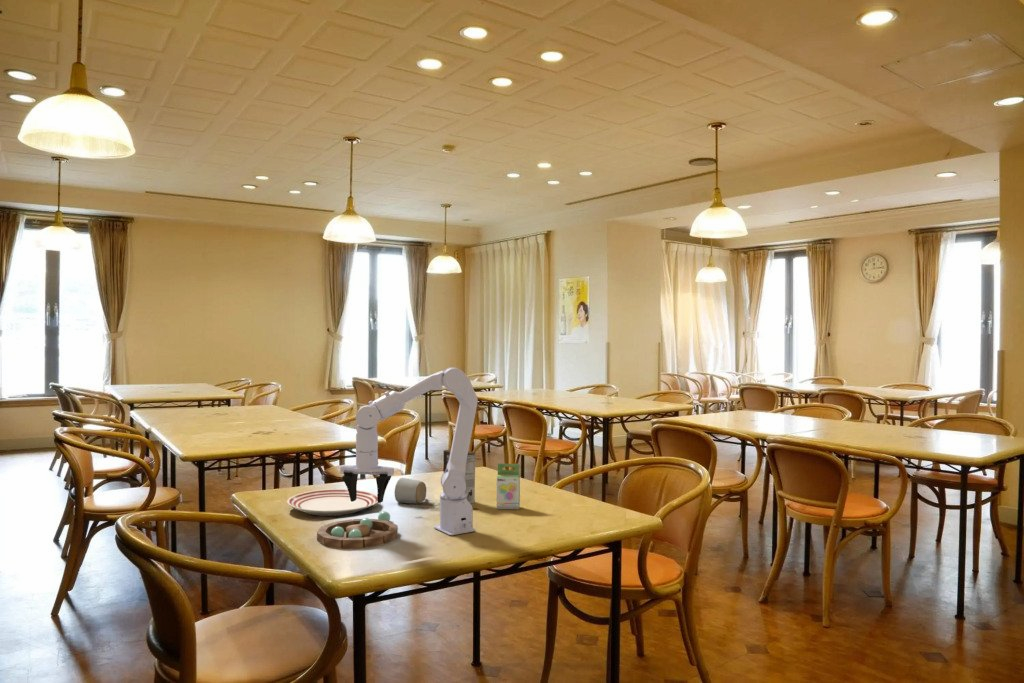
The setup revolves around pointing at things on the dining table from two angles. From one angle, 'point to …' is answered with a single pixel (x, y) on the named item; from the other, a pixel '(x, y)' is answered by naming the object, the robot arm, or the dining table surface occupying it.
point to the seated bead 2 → (355, 534)
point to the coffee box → (466, 474)
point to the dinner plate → (331, 502)
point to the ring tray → (373, 540)
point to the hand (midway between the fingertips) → (366, 501)
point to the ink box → (508, 487)
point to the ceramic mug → (410, 491)
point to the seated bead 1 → (337, 532)
